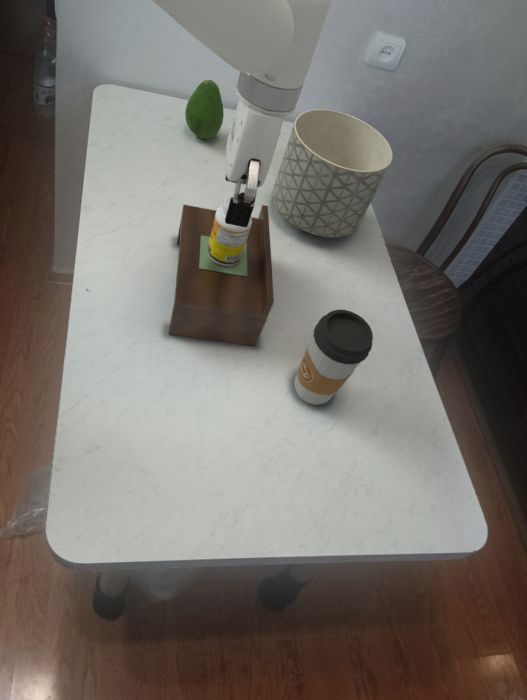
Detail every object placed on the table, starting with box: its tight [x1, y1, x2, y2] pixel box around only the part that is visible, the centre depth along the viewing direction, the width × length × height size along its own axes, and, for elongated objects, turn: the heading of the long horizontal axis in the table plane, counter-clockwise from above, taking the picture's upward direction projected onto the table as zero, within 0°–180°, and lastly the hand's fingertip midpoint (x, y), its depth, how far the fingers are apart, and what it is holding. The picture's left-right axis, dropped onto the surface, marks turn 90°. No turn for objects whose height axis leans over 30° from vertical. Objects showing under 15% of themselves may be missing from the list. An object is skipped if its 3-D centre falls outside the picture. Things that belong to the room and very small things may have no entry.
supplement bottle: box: [208, 195, 252, 266], centre depth 82 cm, size 6×6×10 cm
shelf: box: [168, 204, 275, 347], centre depth 88 cm, size 14×22×11 cm, turn 2°
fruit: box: [184, 79, 225, 140], centre depth 114 cm, size 8×8×12 cm
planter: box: [271, 108, 394, 239], centre depth 105 cm, size 19×19×18 cm
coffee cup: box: [293, 309, 374, 406], centre depth 79 cm, size 8×8×15 cm
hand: (235, 202), depth 77 cm, fingers open, 9 cm apart
